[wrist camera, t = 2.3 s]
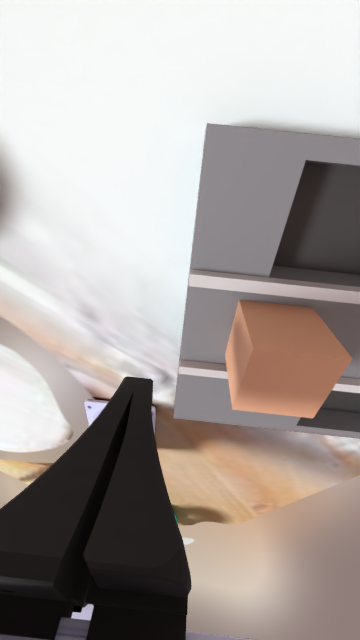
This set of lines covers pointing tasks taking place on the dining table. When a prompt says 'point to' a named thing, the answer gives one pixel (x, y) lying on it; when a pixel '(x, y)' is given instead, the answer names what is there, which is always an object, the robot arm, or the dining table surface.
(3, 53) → the dining table surface
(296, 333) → the terracotta block
